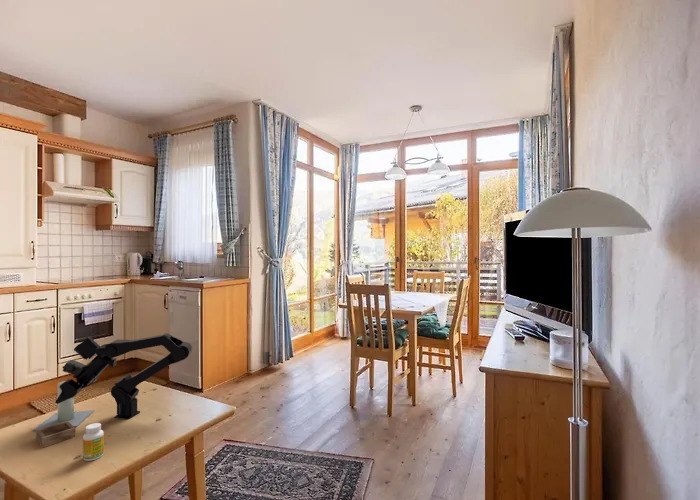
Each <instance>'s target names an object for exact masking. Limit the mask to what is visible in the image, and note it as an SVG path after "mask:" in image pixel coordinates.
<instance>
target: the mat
mask: <svg viewBox="0 0 700 500" xmlns="http://www.w3.org/2000/svg"><path fill="white" fill-rule="evenodd" d="M94 412H95V409H91V410H78V411H74V418H73V419H72V420H70V421H68V422H69V423H70V424H71V425H72V426H74V427H75V428H77V427H79V426H80V425H81V424H82V423H83V422H84V421H86V419H87V418H89V417H90V416H91V415H92V414H93V413H94ZM59 423H62V422H58V412H55V413H53V414H51V416H49V417H48V418H47V419H45V420H44V421H42V422H41V423H40V424H39V425H37V426H36V427H35V428H33V429H32V431H33V432H36V430H38V429H41V428H45V427H48V426H52V425H55V424H59Z"/></svg>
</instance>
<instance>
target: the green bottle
mask: <svg viewBox="0 0 700 500" xmlns="http://www.w3.org/2000/svg"><path fill="white" fill-rule="evenodd" d="M65 381H66V380H64V381H61V382H60V381H59V382H58V383H57V398H58V397H59V395H60V393H61V392H62V390H61V389H60V387H59V386H60V385H61V384H62V383H63V382H65ZM74 412H75V396H74V397H73V398H70V399H67V400H65V401H63V402H61V403H58V404H57V413H58V422H65V421H70V420H72V419H73V418H74Z"/></svg>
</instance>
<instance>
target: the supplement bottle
mask: <svg viewBox="0 0 700 500" xmlns="http://www.w3.org/2000/svg"><path fill="white" fill-rule="evenodd" d="M104 433H105V432H104V430H103V429H102V424H101V423H100V422H95V423H91V424H88V425H87V426H86V427H85V433H84V434H83V436H82V460H84V461H85V462H91V461H95V460H98V459H100V458H102V457H103V455H104V454H105V453H104V449H105V448H104V447H105V446H104V445H105V444H104V441H105V439H104V438H105V437H104V435H105V434H104Z"/></svg>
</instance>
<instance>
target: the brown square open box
mask: <svg viewBox="0 0 700 500" xmlns="http://www.w3.org/2000/svg"><path fill="white" fill-rule="evenodd" d="M74 438H76V427H74V426H72V425H71V424H70V423H69V422H68V421H65V422H62V423H59V424H55V425H52V426H48V427H45V428H41V429H38V430H36V431H35V439H36V441H37V442H38V443H39V444H40V446H41V448H45V447H48V446H51V445H54V444H57V443H60V442H64V441H67V440H70V439H74Z"/></svg>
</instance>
